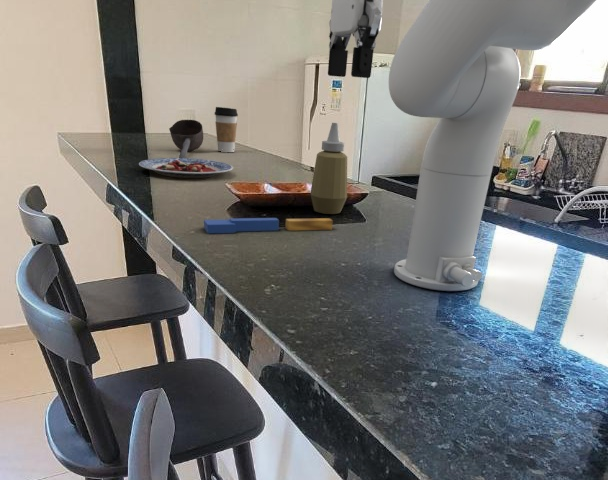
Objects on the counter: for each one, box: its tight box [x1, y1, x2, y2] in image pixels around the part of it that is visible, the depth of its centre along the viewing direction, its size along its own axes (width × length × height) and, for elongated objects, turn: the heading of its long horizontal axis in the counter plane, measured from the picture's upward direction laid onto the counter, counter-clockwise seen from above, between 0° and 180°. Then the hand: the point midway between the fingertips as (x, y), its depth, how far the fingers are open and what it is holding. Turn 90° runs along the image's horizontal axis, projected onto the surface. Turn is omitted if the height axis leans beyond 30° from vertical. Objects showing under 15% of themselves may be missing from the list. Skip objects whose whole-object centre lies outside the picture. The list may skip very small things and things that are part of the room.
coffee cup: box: [214, 106, 239, 153], centre depth 194 cm, size 8×8×15 cm
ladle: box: [168, 119, 204, 158], centre depth 180 cm, size 12×38×10 cm, turn 8°
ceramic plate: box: [138, 157, 234, 179], centre depth 149 cm, size 26×26×3 cm
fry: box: [284, 217, 334, 232], centre depth 102 cm, size 9×2×2 cm, turn 110°
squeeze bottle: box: [309, 122, 348, 215], centre depth 113 cm, size 8×8×18 cm
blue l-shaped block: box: [203, 217, 280, 235], centre depth 98 cm, size 14×4×2 cm, turn 110°
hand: (348, 76), depth 88 cm, fingers open, 9 cm apart
